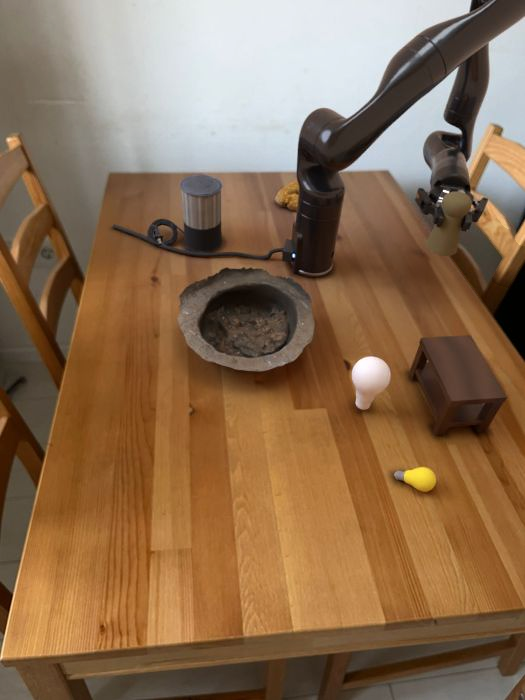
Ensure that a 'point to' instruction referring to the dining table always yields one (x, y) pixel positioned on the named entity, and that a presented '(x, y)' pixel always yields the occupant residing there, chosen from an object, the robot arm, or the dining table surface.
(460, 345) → the shelf
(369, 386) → the lightbulb
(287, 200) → the golden lumpy piece
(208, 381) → the dining table surface
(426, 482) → the light bulb
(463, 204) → the cork
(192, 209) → the milk frother
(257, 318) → the stone bowl
